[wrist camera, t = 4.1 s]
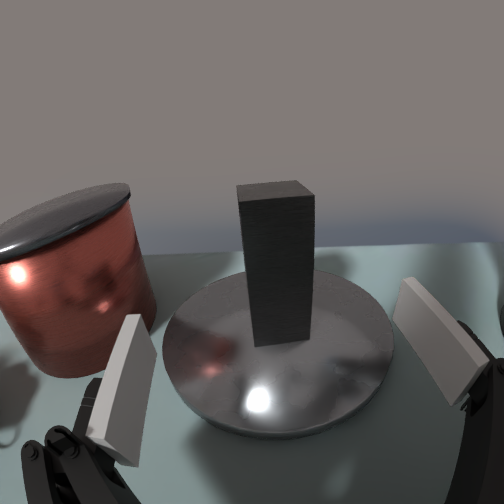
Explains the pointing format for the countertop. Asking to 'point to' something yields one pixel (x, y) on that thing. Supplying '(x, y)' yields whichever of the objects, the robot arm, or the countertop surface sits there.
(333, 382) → the lid
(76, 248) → the pot
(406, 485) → the countertop surface
